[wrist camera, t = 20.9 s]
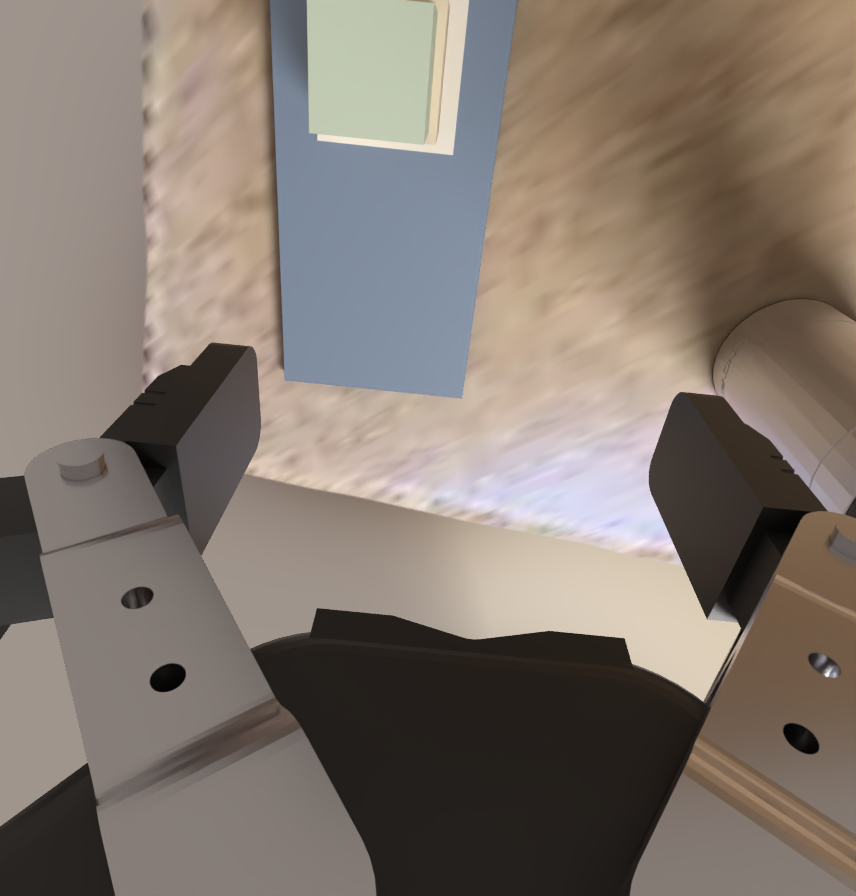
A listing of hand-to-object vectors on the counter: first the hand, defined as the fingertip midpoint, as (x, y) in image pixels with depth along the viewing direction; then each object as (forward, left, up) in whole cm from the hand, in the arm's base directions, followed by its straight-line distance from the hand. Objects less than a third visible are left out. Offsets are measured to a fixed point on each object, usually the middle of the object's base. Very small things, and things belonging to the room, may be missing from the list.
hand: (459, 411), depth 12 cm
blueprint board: (+4, +2, -30) cm, 31 cm away
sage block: (+4, -5, -24) cm, 25 cm away
